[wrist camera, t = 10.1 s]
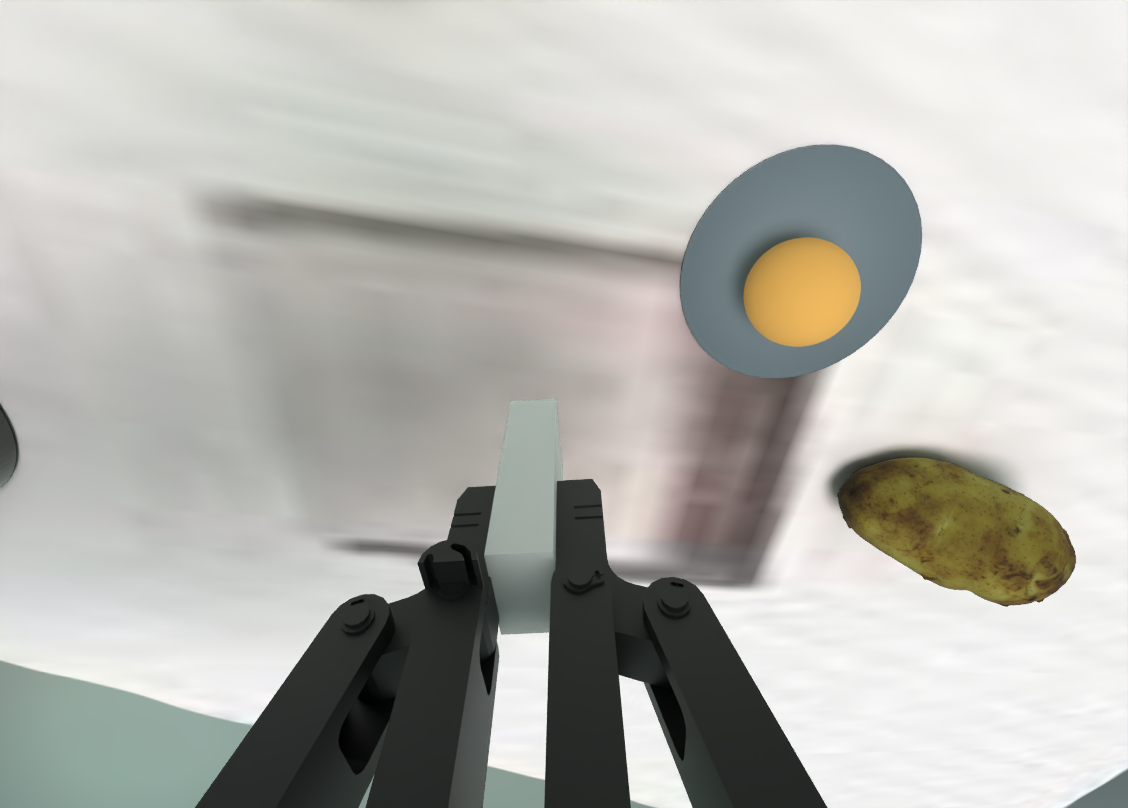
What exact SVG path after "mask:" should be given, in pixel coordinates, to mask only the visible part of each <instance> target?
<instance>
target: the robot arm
mask: <svg viewBox="0 0 1128 808" xmlns="http://www.w3.org/2000/svg"><path fill="white" fill-rule="evenodd" d="M15 463H16V446H15V441H14V437H13V434H12V431H11V429H10V426H9V424H8V422H7V420H6V418H5V417H4V415H3V413H2V412H1V410H0V487H1V486H3V485H4V484H5V483H6V482H7V481H8V479H9V478H10V476H11V475H12V473H13V471H14V468H15ZM418 566H419V570H420V573H421V576H422V579H423V583H424V586H425V589H424V590H422V591H421V592H419V593H418V594H415V595H413V596H410V597H408V598H405V599H402V600H399V601H396V602H393V603H390V604H388V603H387V602H386V601H385V599H384V598H383V597H380V596H377V595H375V594H364V595H360V596H357V597H354V598H351V599H350V600H348V601H347V602H345V603H343V604H342V605H340V606H339V607H338V608H337V610H336V611H335V612H334V613H333V614H332V615H331V616H330V618H329V619H328V621H327V622H326V623H325V625H324V626H323V628H322V629H321V630H320V632H319V633H318V635H317V636H316V638H315V639H314V640H313V642H312V643H311V645H310V646H309V647H308V649H307V650H306V652H305V653H304V654H303V656H302V657H301V659H300V660H299V662H298V663H297V664H296V666H295V667H294V669H293V670H292V671H291V673H290V674H289V676H288V677H287V678H286V680H285V681H284V683H283V684H282V686H281V687H280V688H279V690H278V691H277V693H276V694H275V695H274V697H273V698H272V700H271V701H270V702H269V704H268V705H267V707H266V708H265V710H264V711H263V712H262V714H261V715H260V717H259V718H258V719H257V721H256V722H255V724H254V725H253V727H252V728H251V729H250V731H249V732H248V734H247V735H246V736H245V738H244V739H243V741H242V742H241V743H240V745H239V746H238V748H237V749H236V751H235V752H234V753H233V755H232V756H231V758H230V759H229V760H228V762H227V763H226V765H225V766H224V767H223V769H222V770H221V772H220V773H219V775H218V776H217V778H216V779H215V780H214V782H213V783H212V784H211V786H210V788H209V789H208V790H207V792H206V793H205V794H204V796H203V797H202V799H201V800H200V801H199V803H198V804H197V806H196V807H195V808H358V807H359V805H360V803H361V801H362V799H363V796H364V794H365V792H366V790H367V788H368V786H369V784H370V782H371V780H372V778H373V776H374V779H373V782H372V786H371V790H370V793H369V797H368V800H367V805H366V808H483V799H484V790H485V781H486V772H487V763H488V754H489V745H490V736H491V727H492V718H493V708H494V699H495V690H496V681H497V672H498V663H499V650H498V644H497V633H498V625H499V627H500V631H501V635H502V634H523V633H544V632H549V666H548V701H547V736H546V772H545V808H631V805H630V794H629V783H628V772H627V762H626V751H625V740H624V729H623V718H622V707H621V696H620V685H619V675H621V676H625V677H628V678H632V679H635V680H638V681H642V682H644V684H645V687H646V689H647V692H648V694H649V697H650V699H651V702H652V705H653V707H654V710H655V712H656V715H657V717H658V720H659V722H660V725H661V728H662V730H663V733H664V735H665V738H666V740H667V743H668V745H669V748H670V751H671V753H672V756H673V758H674V761H675V763H676V766H677V769H678V771H679V774H680V776H681V779H682V781H683V784H684V786H685V789H686V792H687V794H688V797H689V799H690V802H691V804H692V807H693V808H827V806H826V804H825V803H824V801H823V799H822V798H821V796H820V794H819V792H818V791H817V789H816V787H815V785H814V784H813V782H812V780H811V779H810V777H809V775H808V773H807V772H806V770H805V768H804V767H803V765H802V763H801V761H800V760H799V758H798V756H797V755H796V753H795V751H794V749H793V748H792V746H791V744H790V743H789V741H788V739H787V737H786V736H785V734H784V732H783V730H782V729H781V727H780V725H779V724H778V722H777V720H776V718H775V717H774V715H773V713H772V712H771V710H770V708H769V706H768V705H767V703H766V701H765V700H764V698H763V696H762V694H761V693H760V691H759V689H758V687H757V686H756V684H755V682H754V681H753V679H752V677H751V675H750V674H749V672H748V670H747V669H746V667H745V665H744V663H743V662H742V660H741V658H740V657H739V655H738V653H737V651H736V650H735V648H734V646H733V645H732V643H731V641H730V639H729V638H728V636H727V634H726V632H725V631H724V629H723V627H722V626H721V624H720V622H719V620H718V619H717V617H716V615H715V614H714V612H713V610H712V608H711V607H710V605H709V603H708V602H707V600H706V598H705V596H704V595H703V593H702V592H701V591H700V590H699V589H698V588H697V587H696V586H695V585H694V584H692V583H690V582H688V581H687V580H684V579H680V578H675V577H669V578H661V579H659V580H657V581H655V582H652V583H651V584H650V586H649V587H643V586H639V585H635V584H632V583H629V582H626V581H624V580H622V579H621V578H619V577H618V576H617V575H616V574H615V573H614V572H613V571H612V570H611V568H610V566H609V564H608V560H607V553H606V542H605V532H604V521H603V510H602V500H601V490H600V489H599V488H598V486H597V485H596V484H595V482H594V481H593V479H583V480H566V481H563V464H562V453H561V442H560V432H559V421H558V411H557V400H556V398H553V399H537V400H522V401H510V406H509V412H508V418H507V424H506V430H505V436H504V441H503V447H502V453H501V459H500V465H499V471H498V477H497V483H496V486H484V487H468V488H467V489H466V490H465V492H464V493H463V494H462V495H461V496H460V498H459V499H458V500H457V504H456V508H455V512H454V517H453V520H452V523H451V528H450V531H449V535H448V539H447V540H446V541H441V542H439V543H437V544H435V545H433V546H431V547H430V548H429V549H428V550H426V551H425V552H424V553H423V554H422V556H421V558H420V559H419V561H418ZM374 774H375V775H374Z"/></svg>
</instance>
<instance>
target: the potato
mask: <svg viewBox="0 0 1128 808" xmlns="http://www.w3.org/2000/svg"><path fill="white" fill-rule="evenodd" d="M837 497H838V501H839V506H840V509H841V511H842V514H843V518H844V520H845V521H846V523H847V525H848V527H849V528H852V529H853V530H854V531H855V532H856V533H857V534H858V535H859V536H860V537H862V538H863V539H864V540H865V541H867V542H869V543H870V544H872V545H873V546H874V547H876V548H877V549H879V550H880V551H882V552H884V553H885V554H887V555H888V556H890V557H892V558H894V559H895V560H897V561H899V562H900V563H902V564H903V565H905V566H907V567H908V568H910V569H912V570H913V571H915V572H916V573H918V574H920V575H921V576H922V577H923V578H924V579H926V580H929V581H932V582H933V583H935V584H938V585H940V586H942V587H945V588H949V589H954V590H968V591H971V592H972V593H974V594H975V595H977V596H979V597H981V598H983V599H985V600H988V601H991V602H994V603H997V604H1000V605H1002V606H1006V607H1007V606H1009V605H1021V604H1028V603H1032V602H1034V601H1037V602H1041V601H1043V600H1044V598H1046V597H1048V596H1050V595H1051V594H1053V593H1055V592H1056V591H1057V590H1058V589H1059V588H1060V587H1062V586H1063V585H1064V584H1065V583H1066V582H1067V580H1068V579H1069V578H1070V576H1071V574H1072V572H1073V570H1074V568H1075V564H1076V555H1075V551H1074V548H1073V546H1072V544H1071V542H1070V539H1069V535H1068V534H1067V531H1065V530H1064V529H1063V528H1062V526H1061V525H1060V523H1059V522H1058V521H1057V520H1056V519H1055V517H1054V516H1053V515H1052V514H1051V513H1050V512H1048V511H1047V510H1046V509H1045V508H1043V507H1042V506H1041V505H1039V504H1038V503H1036V502H1035V501H1033V500H1031V499H1030V498H1028V497H1026V496H1024V494H1021V493H1019V492H1016V491H1014V490H1012V489H1010V488H1008V487H1006V486H1004V485H1002V484H999V483H997V482H994V481H991V480H988V479H986V478H983V477H980V476H978V475H975V474H973V473H972V472H970V471H968V470H966V469H964V468H962V467H960V466H958V465H955V464H952V463H949V462H944V461H939V460H934V459H928V458H914V457H911V458H897V459H891V460H887V461H883V462H880V463H877V464H873V465H870V466H867V467H864V468H862V469H860V470H858V471H856V472H855V473H853V474H852V475H851V476H850V477H849V478H848V479H847V480H846V481H845V483H844V484H843V485H842V487H841V488H840V490H839V492H838V494H837Z"/></svg>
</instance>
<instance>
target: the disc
mask: <svg viewBox="0 0 1128 808" xmlns="http://www.w3.org/2000/svg"><path fill="white" fill-rule="evenodd" d="M803 237H812V238H819V239H823V240H826V241H829V242H832V243H834V244H835V245H837V246H839V247H840V248H841V249H843V250H844V251H845V252H846V253H847V254H848V255H849V256H850V257H851V259H852V260H853V261H854V263H855V265H856V267H857V270H858V273H859V276H860V281H861V292H860V299H859V303H858V306H857V308H856V310H855V313H854V314H853V316H852V317H851V319H850V320H849V322H848V323H847V324H846V325H845V326H844V327H843V328H842V329H841V330H840V331H839V332H838V333H836V334H835V335H834V336H832V337H831V338H829V339H827V340H825V341H823V342H820V343H817V344H814V345H810V346H803V347H792V346H785V345H781V344H778V343H775V342H773V341H771V340H769V339H767V338H766V337H764V336H763V335H762V334H760V333H759V332H758V331H757V330H756V329H755V328H754V326H753V325H752V324H751V322H750V320H749V318H748V316H747V314H746V311H745V306H744V299H743V296H744V287H745V283H746V279H747V276H748V274H749V272H750V270H751V269H752V267H753V266H754V264H755V263H756V262H757V260H758V259H759V258H760V257H761V256H762V255H763V254H764V253H765V252H767V251H768V250H770V249H771V248H772V247H774V246H776V245H778V244H780V243H782V242H785V241H787V240H791V239H796V238H803ZM921 244H922V227H921V218H920V214H919V209H918V205H917V203H916V201H915V198H914V196H913V193H912V191H911V190H910V188H909V187H908V185H907V183H906V182H905V180H904V179H903V178H902V177H901V176H900V175H899V174H898V172H897V171H896V170H895V169H894V168H893V167H891V166H890V165H889V164H887V163H886V162H885V161H883V160H882V159H880V158H878V157H876V156H874V155H872V154H870V153H868V152H865V151H862V150H859V149H855V148H852V147H846V146H838V145H814V146H808V147H801V148H797V149H793V150H790V151H786V152H783V153H780V154H778V155H776V156H773V157H771V158H769V159H766V160H764V161H763V162H761V163H759V164H757V165H756V166H754V167H752V168H751V169H749V170H748V171H746V172H745V173H743V174H742V175H741V176H739V177H738V178H737V179H735V180H734V181H733V182H732V183H731V184H730V185H729V186H728V187H727V188H726V189H724V190H723V191H722V192H721V193H720V194H719V196H718V197H717V198H716V199H715V200H714V201H713V203H712V204H711V205H710V206H709V207H708V209H707V210H706V212H705V213H704V215H703V216H702V218H701V219H700V221H699V222H698V224H697V226H696V228H695V230H694V232H693V234H692V236H691V238H690V241H689V244H688V246H687V249H686V252H685V256H684V260H683V264H682V269H681V278H680V297H681V303H682V309H683V313H684V316H685V319H686V322H687V324H688V326H689V328H690V330H691V332H692V334H693V336H694V338H695V339H696V340H697V342H698V343H699V345H700V346H701V347H702V348H703V349H704V350H705V351H706V352H707V353H708V354H709V355H710V356H711V357H712V358H714V359H715V360H716V361H718V362H719V363H720V364H722V365H724V366H726V367H728V368H729V369H732V370H734V371H737V372H739V373H742V374H746V375H750V376H754V377H763V378H786V377H794V376H800V375H804V374H808V373H812V372H815V371H818V370H821V369H823V368H826V367H828V366H830V365H832V364H835V363H837V362H839V361H840V360H842V359H844V358H846V357H847V356H849V355H851V354H852V353H854V352H855V351H856V350H858V349H859V348H861V347H862V346H863V345H865V344H866V343H867V342H868V341H869V340H870V339H872V338H873V337H874V336H875V335H876V334H877V333H878V332H879V331H880V330H881V329H882V328H883V327H884V326H885V325H886V324H887V322H888V321H889V320H890V319H891V317H892V316H893V315H894V313H895V312H896V311H897V309H898V308H899V306H900V305H901V303H902V301H903V300H904V298H905V296H906V294H907V292H908V290H909V288H910V286H911V284H912V282H913V279H914V276H915V273H916V270H917V267H918V263H919V258H920V253H921Z"/></svg>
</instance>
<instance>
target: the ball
mask: <svg viewBox="0 0 1128 808" xmlns="http://www.w3.org/2000/svg"><path fill="white" fill-rule="evenodd" d="M860 292H861V281H860V276H859V273H858V270H857V267H856V265H855V263H854V261H853V260H852V259H851V257H850V256H849V255H848V254H847V253H846V252H845V251H844V250H843V249H841V248H840V247H839V246H837V245H835V244H834V243H832V242H829V241H826V240H823V239H819V238H812V237H803V238H796V239H791V240H787V241H785V242H782V243H780V244H778V245H776V246H774V247H772V248H771V249H770V250H768V251H767V252H765V253H764V254H763V255H762V256H761V257H760V258H759V259H758V260H757V262H756V263H755V264H754V266H753V267H752V269H751V270H750V272H749V274H748V276H747V279H746V283H745V287H744V296H743V299H744V306H745V311H746V314H747V316H748V318H749V320H750V322H751V324H752V325H753V326H754V328H755V329H756V330H757V331H758V332H759V333H760V334H762V335H763V336H764V337H766V338H767V339H769V340H771V341H773V342H775V343H778V344H781V345H785V346H792V347H803V346H810V345H814V344H817V343H820V342H823V341H825V340H827V339H829V338H831V337H832V336H834V335H835V334H836V333H838V332H839V331H840V330H841V329H842V328H843V327H844V326H845V325H846V324H847V323H848V322H849V320H850V319H851V317H852V316H853V314H854V313H855V310H856V308H857V306H858V303H859V299H860Z"/></svg>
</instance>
